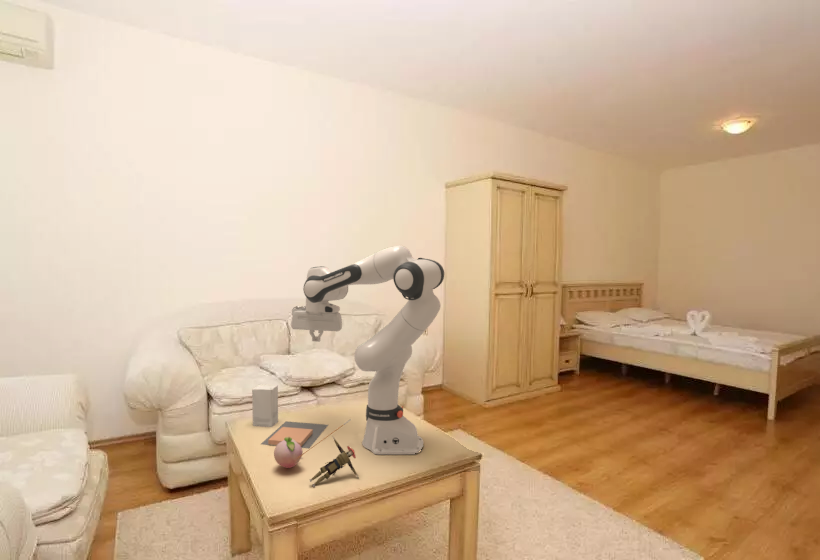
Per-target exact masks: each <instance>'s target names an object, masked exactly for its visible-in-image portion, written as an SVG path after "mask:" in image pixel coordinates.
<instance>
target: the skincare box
mask: <svg viewBox="0 0 820 560" xmlns="http://www.w3.org/2000/svg"><path fill="white" fill-rule="evenodd" d="M278 386H279V385H278V384H258V385H256V386H255V387H253V388H252V389H251V391H252V392H251V393H252V395H251V396H252V397H251V398H252V399H251V402H252V404H251V405H252V426H253V427H262V428H263V427H264V428H273V427H274V426H276V425H277V423H278V422H279V394H278V393H279V390H278V389H279V387H278Z"/></svg>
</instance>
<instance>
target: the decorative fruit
mask: <svg viewBox="0 0 820 560" xmlns="http://www.w3.org/2000/svg"><path fill="white" fill-rule="evenodd" d="M303 453H304V452H303V448H301V446H300V445H299V444H298V443H297V442H296V441H295V440H293V439H292V438H291V437H285V438H284V440H283V441H282V442H280V443H279V444H278V445H277V446H275V447H274V452H273V457H274V461H275V462H276V463H277V464H278V465H279V466H281V467H283V468H285V469H286V468H287V469H291V468H293V467H295V466H296V465H297V464H298V463H299V462H300V461H301V459H302V456H303V455H302V454H303ZM301 455H302V456H301ZM299 456H300V457H299ZM298 457H299V458H298ZM297 458H298V459H297Z"/></svg>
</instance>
